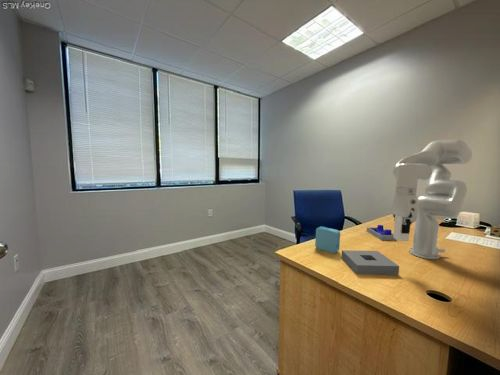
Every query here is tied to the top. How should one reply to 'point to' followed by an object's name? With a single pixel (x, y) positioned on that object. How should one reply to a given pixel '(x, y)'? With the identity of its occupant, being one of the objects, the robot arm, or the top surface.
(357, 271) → the socket plate
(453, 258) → the top surface
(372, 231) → the desk tray
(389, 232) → the cable clip
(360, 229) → the top surface
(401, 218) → the plug
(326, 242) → the data package
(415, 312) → the top surface
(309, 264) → the top surface
